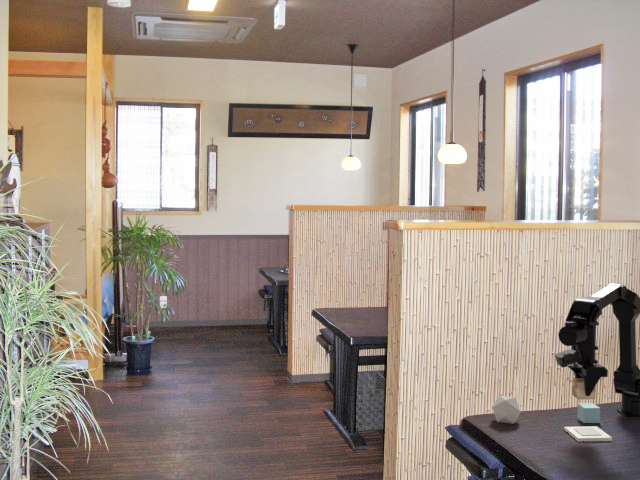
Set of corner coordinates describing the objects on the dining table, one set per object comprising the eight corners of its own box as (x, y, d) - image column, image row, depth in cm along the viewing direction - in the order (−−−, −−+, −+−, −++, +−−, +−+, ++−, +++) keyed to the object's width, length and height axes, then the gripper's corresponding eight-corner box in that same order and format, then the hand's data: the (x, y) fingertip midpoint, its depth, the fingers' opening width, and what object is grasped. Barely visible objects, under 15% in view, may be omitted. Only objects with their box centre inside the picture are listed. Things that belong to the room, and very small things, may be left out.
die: (523, 421, 222) (508, 393, 227) (528, 415, 215) (512, 387, 219) (499, 431, 222) (485, 403, 226) (503, 426, 214) (489, 397, 218)
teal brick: (577, 418, 223) (577, 403, 223) (593, 418, 223) (593, 403, 223) (584, 424, 218) (584, 408, 218) (599, 423, 218) (600, 407, 218)
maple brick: (571, 394, 211) (572, 378, 210) (588, 394, 211) (588, 378, 211) (578, 399, 206) (578, 382, 205) (595, 399, 206) (595, 382, 206)
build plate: (564, 430, 212) (564, 426, 212) (596, 429, 213) (596, 425, 213) (578, 441, 202) (578, 437, 202) (611, 440, 203) (612, 436, 203)
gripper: (547, 335, 216) (546, 385, 217) (570, 348, 198) (569, 402, 199) (583, 335, 217) (581, 385, 218) (609, 348, 198) (607, 402, 199)
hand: (583, 393), depth 208 cm, fingers closed on maple brick, 5 cm apart
